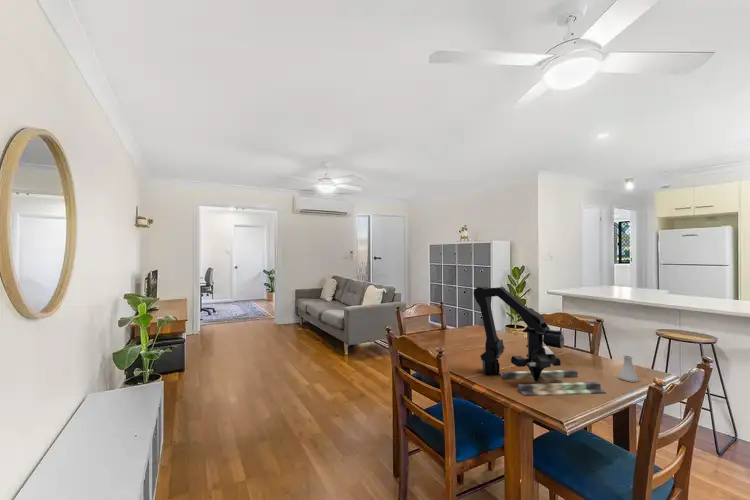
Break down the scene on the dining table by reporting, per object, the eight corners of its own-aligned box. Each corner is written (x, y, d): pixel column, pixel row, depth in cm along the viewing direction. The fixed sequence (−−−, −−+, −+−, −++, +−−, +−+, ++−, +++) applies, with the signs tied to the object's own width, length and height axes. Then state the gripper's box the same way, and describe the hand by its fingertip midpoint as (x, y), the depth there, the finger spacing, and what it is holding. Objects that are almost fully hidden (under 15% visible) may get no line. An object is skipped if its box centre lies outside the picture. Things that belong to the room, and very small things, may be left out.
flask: (632, 383, 143) (632, 359, 143) (614, 378, 149) (614, 355, 149) (642, 380, 146) (642, 357, 146) (623, 375, 152) (623, 352, 152)
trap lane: (524, 395, 131) (524, 389, 131) (499, 375, 153) (499, 369, 153) (606, 393, 133) (606, 386, 133) (570, 373, 155) (570, 367, 155)
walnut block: (545, 389, 138) (545, 379, 138) (536, 382, 145) (536, 373, 145) (562, 389, 138) (562, 379, 138) (553, 382, 145) (553, 373, 145)
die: (552, 368, 164) (559, 350, 167) (535, 358, 165) (542, 340, 168) (544, 368, 172) (551, 351, 175) (528, 359, 173) (535, 342, 176)
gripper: (523, 350, 134) (523, 389, 134) (568, 349, 135) (569, 388, 135) (510, 342, 145) (510, 379, 145) (552, 341, 146) (553, 378, 146)
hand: (535, 381), depth 143 cm, fingers closed
